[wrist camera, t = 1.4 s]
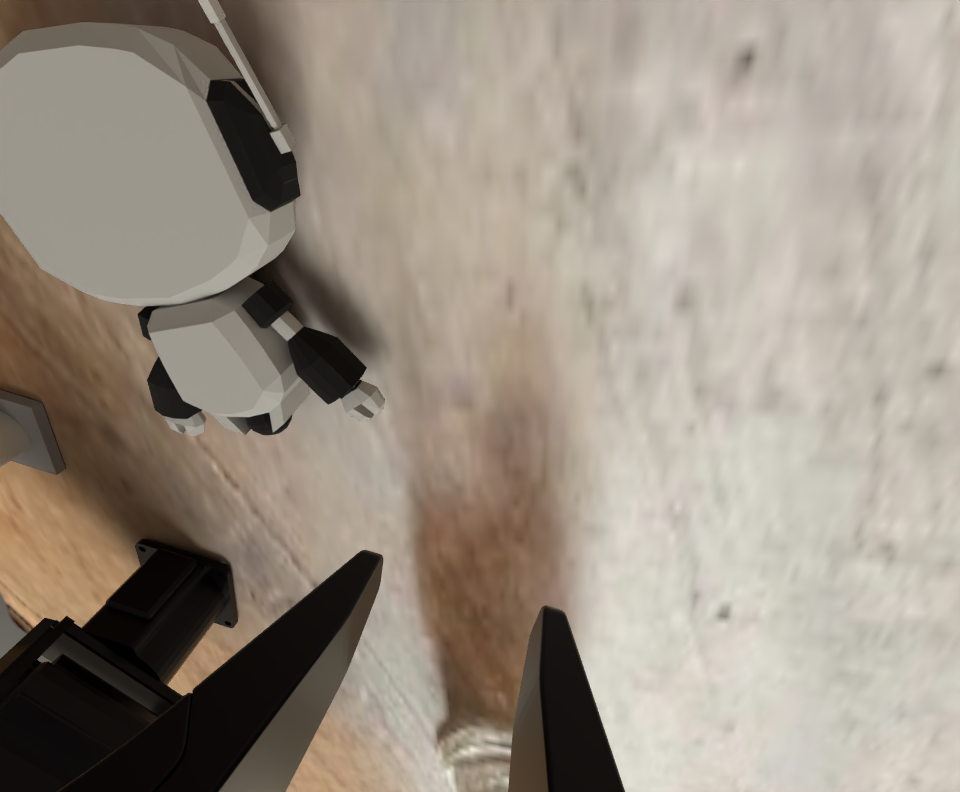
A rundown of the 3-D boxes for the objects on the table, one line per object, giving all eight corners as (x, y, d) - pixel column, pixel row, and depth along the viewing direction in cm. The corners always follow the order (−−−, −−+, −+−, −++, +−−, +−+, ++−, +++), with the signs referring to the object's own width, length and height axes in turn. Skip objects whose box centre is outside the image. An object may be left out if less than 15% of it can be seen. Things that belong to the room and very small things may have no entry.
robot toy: (420, 383, 23) (273, -26, 15) (388, 446, 19) (170, -53, 11) (211, 406, 26) (3, 85, 18) (149, 463, 23) (-142, 92, 15)
